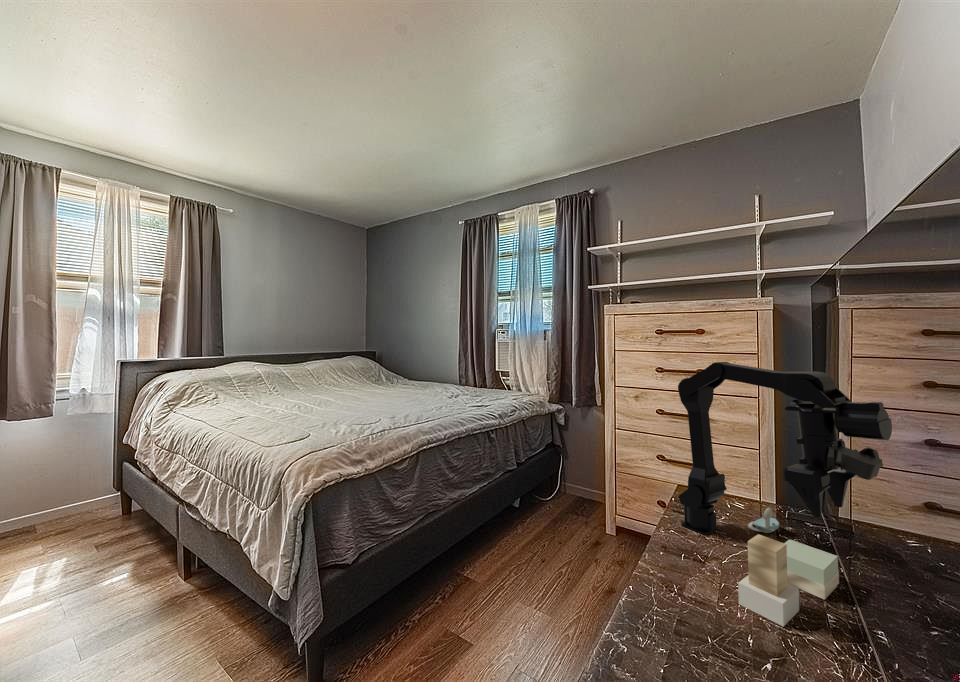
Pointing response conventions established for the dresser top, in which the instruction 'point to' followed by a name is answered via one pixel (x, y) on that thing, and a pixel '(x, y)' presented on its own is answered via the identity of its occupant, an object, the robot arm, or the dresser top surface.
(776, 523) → the pacifier
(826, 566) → the sage slab upper
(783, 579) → the maple block
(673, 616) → the dresser top surface
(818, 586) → the birch slab lower
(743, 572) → the dresser top surface
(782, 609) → the grey stand
